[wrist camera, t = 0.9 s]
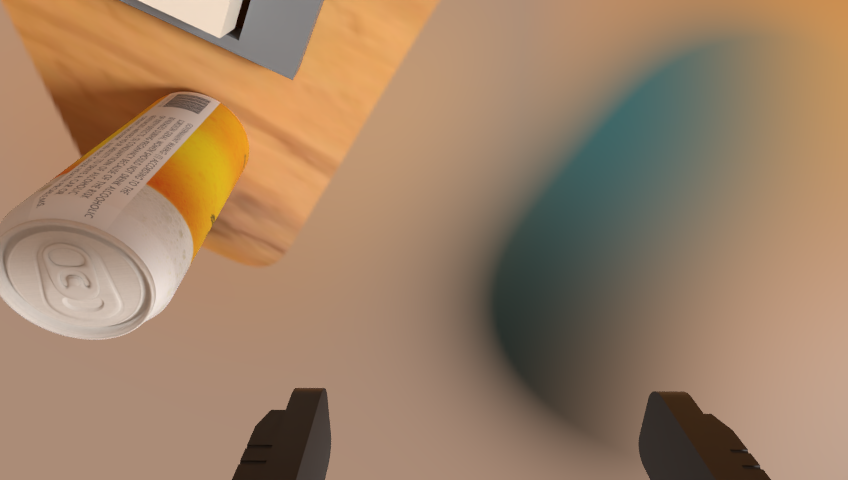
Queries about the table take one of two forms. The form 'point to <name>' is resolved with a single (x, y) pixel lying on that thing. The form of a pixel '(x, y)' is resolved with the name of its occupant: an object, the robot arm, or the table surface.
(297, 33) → the slate board
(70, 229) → the beer can
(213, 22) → the tile one cream
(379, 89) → the table surface
